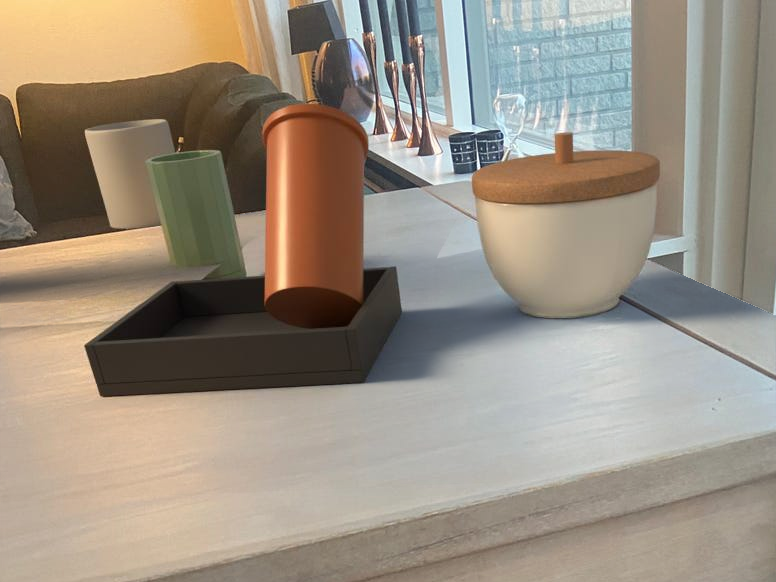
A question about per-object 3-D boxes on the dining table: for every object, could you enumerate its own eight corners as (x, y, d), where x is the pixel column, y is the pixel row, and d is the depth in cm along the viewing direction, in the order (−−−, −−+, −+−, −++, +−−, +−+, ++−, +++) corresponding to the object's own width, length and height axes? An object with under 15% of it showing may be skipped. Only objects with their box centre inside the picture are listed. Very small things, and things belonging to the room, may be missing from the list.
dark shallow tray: (99, 396, 61) (83, 345, 59) (182, 326, 73) (170, 281, 71) (363, 382, 59) (355, 328, 57) (402, 312, 71) (396, 266, 69)
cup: (166, 291, 83) (133, 164, 78) (190, 273, 88) (161, 153, 83) (234, 286, 82) (206, 158, 77) (255, 269, 88) (229, 147, 82)
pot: (243, 288, 60) (246, 107, 61) (280, 334, 67) (282, 170, 68) (352, 281, 59) (353, 97, 60) (378, 328, 66) (379, 163, 67)
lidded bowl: (591, 272, 76) (588, 115, 70) (694, 302, 67) (701, 125, 61) (452, 305, 72) (435, 141, 65) (541, 342, 62) (532, 155, 56)
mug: (191, 240, 101) (163, 124, 95) (109, 250, 101) (75, 134, 94) (200, 220, 111) (175, 113, 105) (126, 229, 110) (96, 122, 104)
